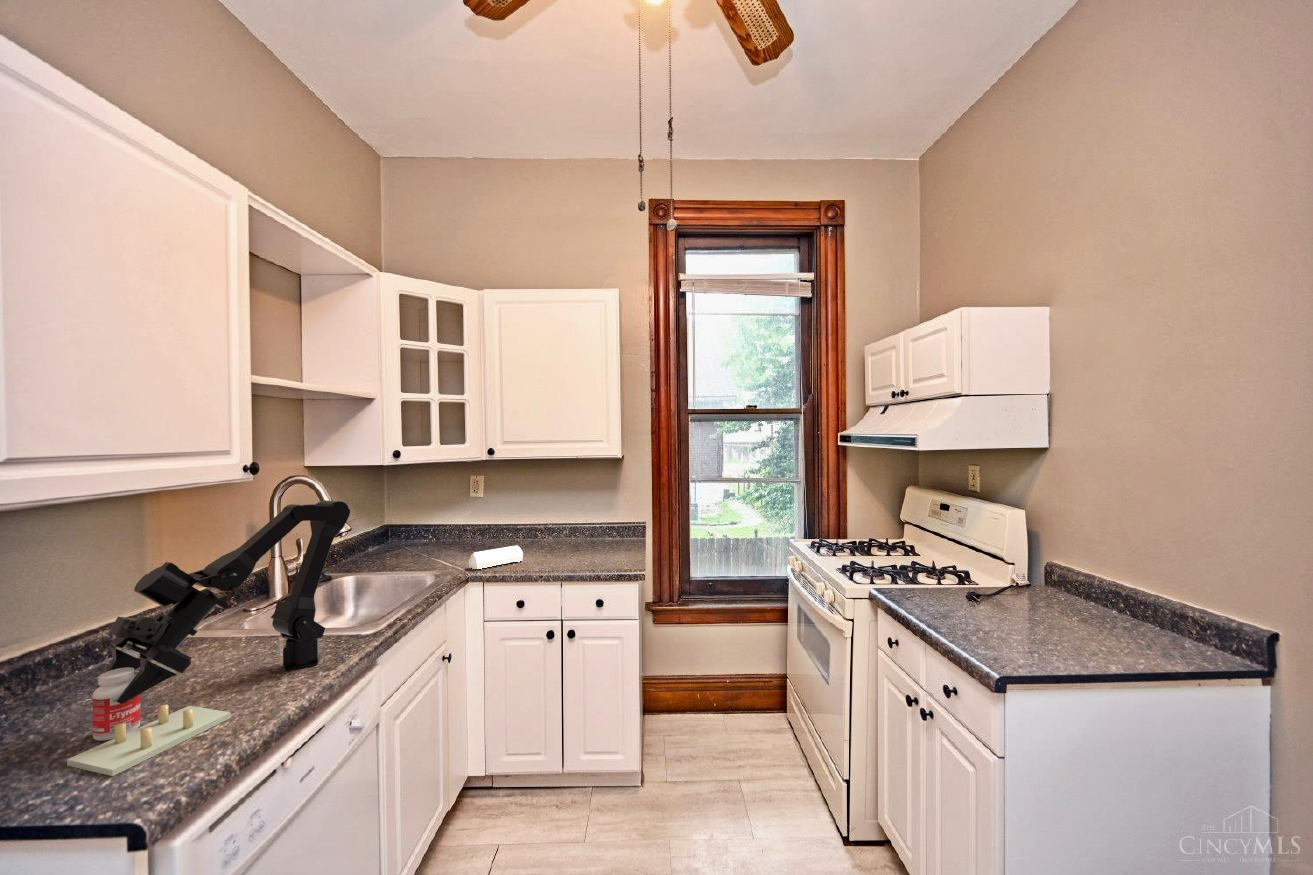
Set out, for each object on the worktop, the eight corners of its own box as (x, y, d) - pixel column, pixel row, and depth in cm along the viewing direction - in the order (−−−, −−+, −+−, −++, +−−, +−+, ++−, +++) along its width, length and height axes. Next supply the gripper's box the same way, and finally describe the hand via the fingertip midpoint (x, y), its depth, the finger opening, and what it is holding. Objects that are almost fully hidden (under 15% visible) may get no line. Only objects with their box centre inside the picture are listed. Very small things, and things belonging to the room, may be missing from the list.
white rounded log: (474, 563, 209) (528, 553, 225) (467, 552, 214) (521, 543, 230) (470, 577, 212) (524, 567, 228) (464, 566, 216) (517, 556, 233)
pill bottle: (108, 743, 93) (107, 681, 93) (83, 739, 94) (82, 678, 94) (149, 725, 99) (148, 666, 99) (125, 721, 100) (124, 663, 100)
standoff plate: (189, 710, 104) (189, 690, 104) (230, 717, 101) (230, 696, 101) (67, 765, 87) (66, 741, 87) (112, 776, 84) (112, 751, 84)
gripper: (124, 591, 105) (42, 669, 95) (169, 603, 96) (84, 690, 86) (174, 618, 112) (103, 693, 102) (220, 632, 103) (147, 715, 93)
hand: (108, 697), depth 96 cm, fingers open, 9 cm apart
